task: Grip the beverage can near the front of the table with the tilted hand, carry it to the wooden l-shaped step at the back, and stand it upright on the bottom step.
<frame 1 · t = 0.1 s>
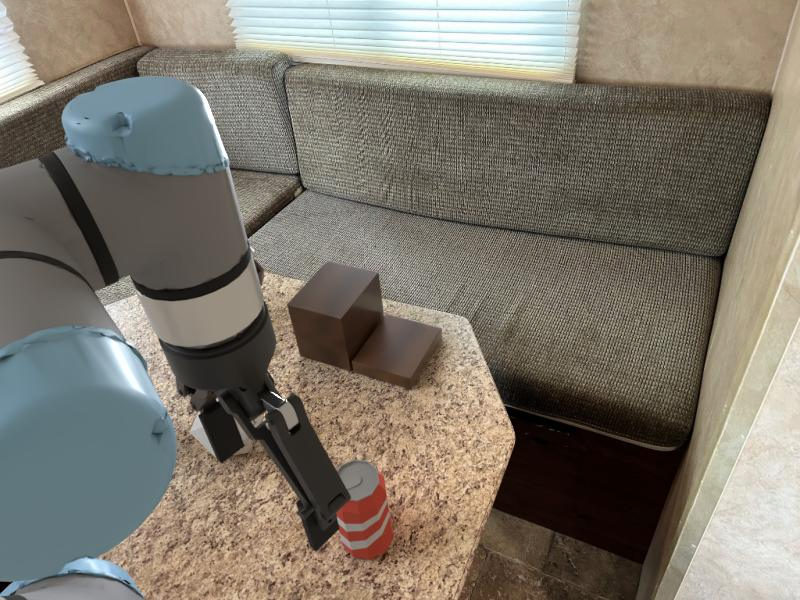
hand: (274, 492, 55), 21 cm above the table, tool pointing down, fingers open, 13 cm apart
wooden l-shaped step: (371, 347, 99), on the table
shot glass: (144, 450, 86), on the table
ice cream bowl: (244, 320, 107), on the table
beverage can: (368, 538, 73), on the table
die: (235, 443, 86), on the table
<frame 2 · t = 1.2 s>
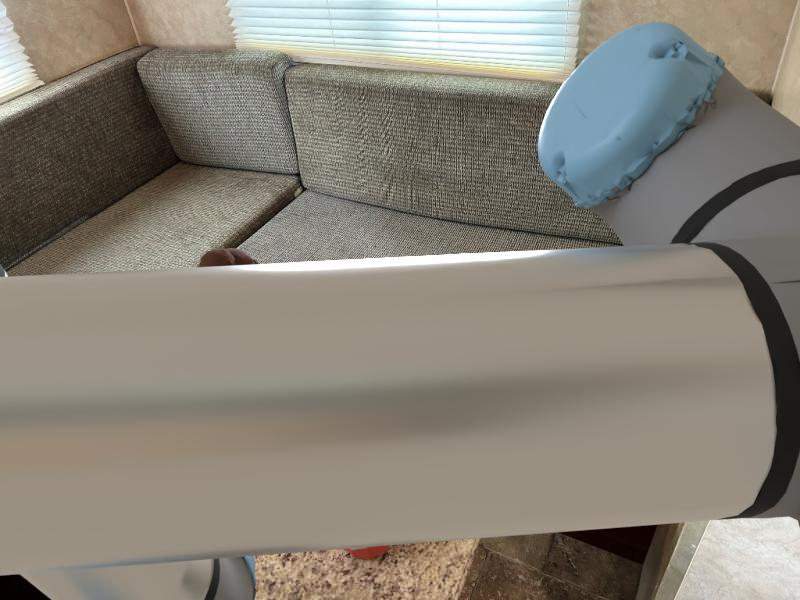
hand: (431, 422, 53), 26 cm above the table, tool tilted 45°, fingers open, 13 cm apart
nothing on the table moved.
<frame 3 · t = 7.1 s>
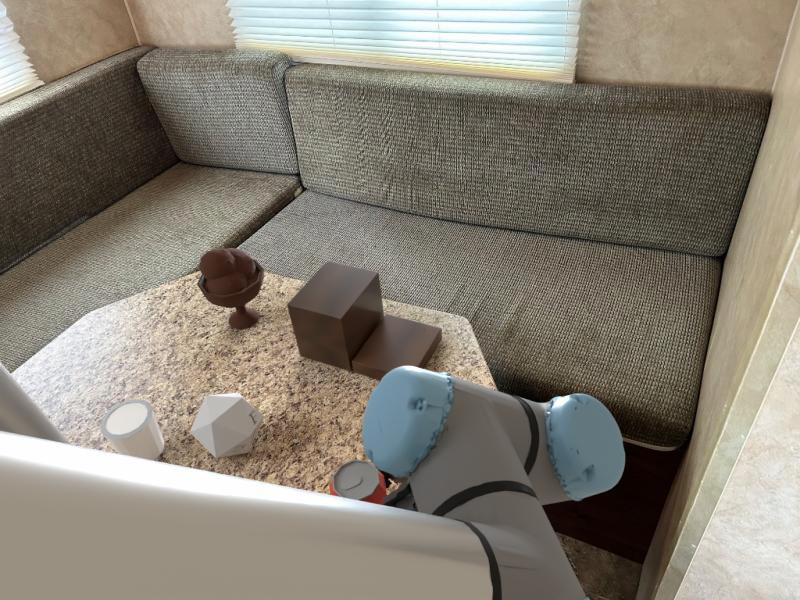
hand: (338, 511, 72), 3 cm above the table, tool tilted 45°, fingers closed on beverage can, 6 cm apart
beverage can: (368, 538, 73), on the table, touching gripper
everything else where it was.
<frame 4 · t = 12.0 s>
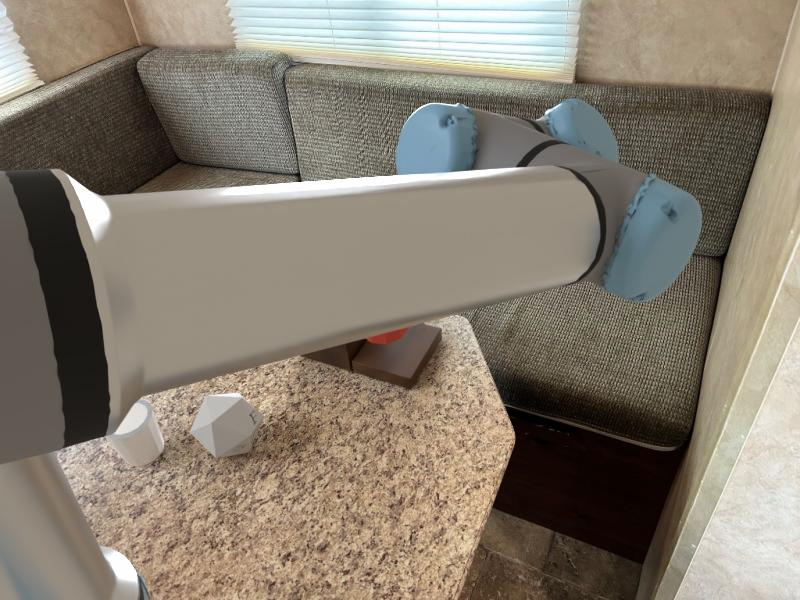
hand: (357, 305, 78), 18 cm above the table, tool tilted 45°, fingers closed on beverage can, 6 cm apart
beverage can: (385, 332, 79), point 15 cm above the table, touching gripper
everything else where it was.
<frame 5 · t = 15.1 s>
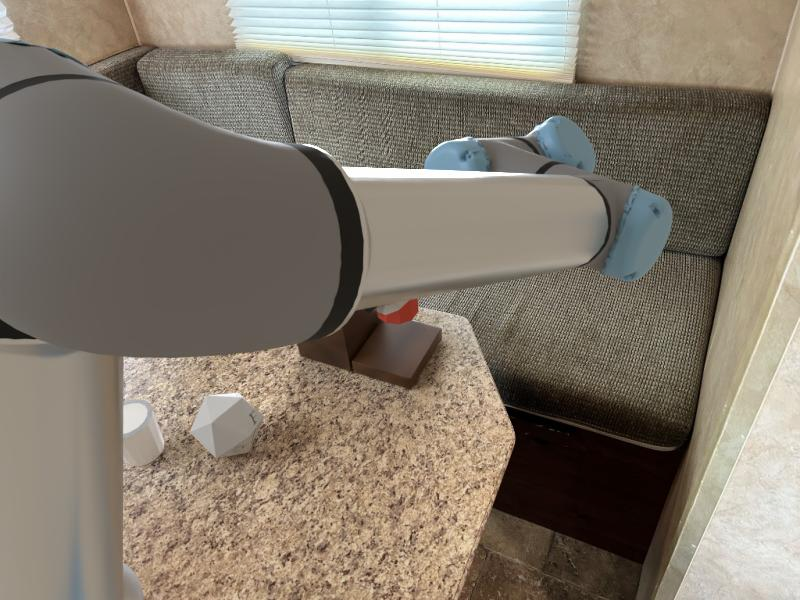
hand: (374, 290, 90), 12 cm above the table, tool tilted 45°, fingers closed on beverage can, 6 cm apart
beverage can: (398, 314, 91), point 9 cm above the table, touching gripper
everything else where it was.
when the fingers open (6 cm above the table, at t = 17.2 s): beverage can stays where it is, resting on wooden l-shaped step.
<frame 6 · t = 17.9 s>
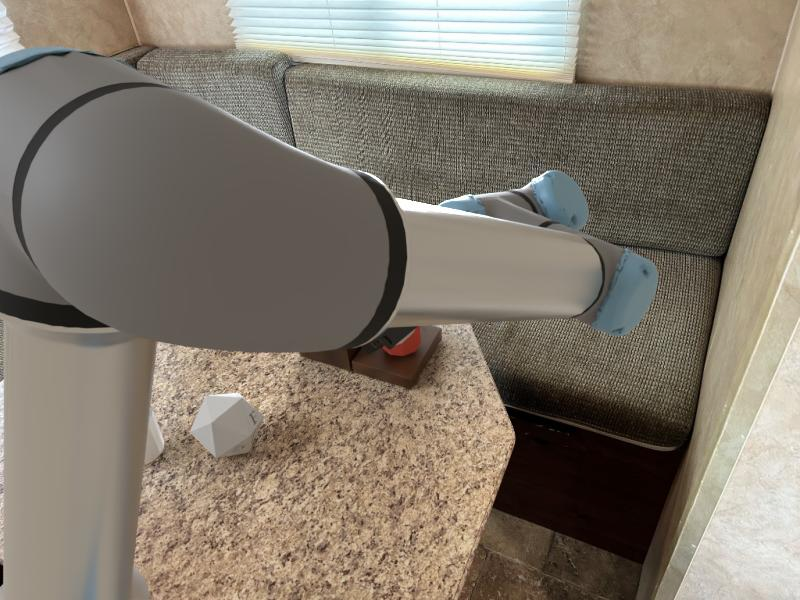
hand: (384, 318, 93), 7 cm above the table, tool tilted 45°, fingers open, 13 cm apart
beverage can: (401, 345, 95), point 2 cm above the table, touching wooden l-shaped step
everything else where it was.
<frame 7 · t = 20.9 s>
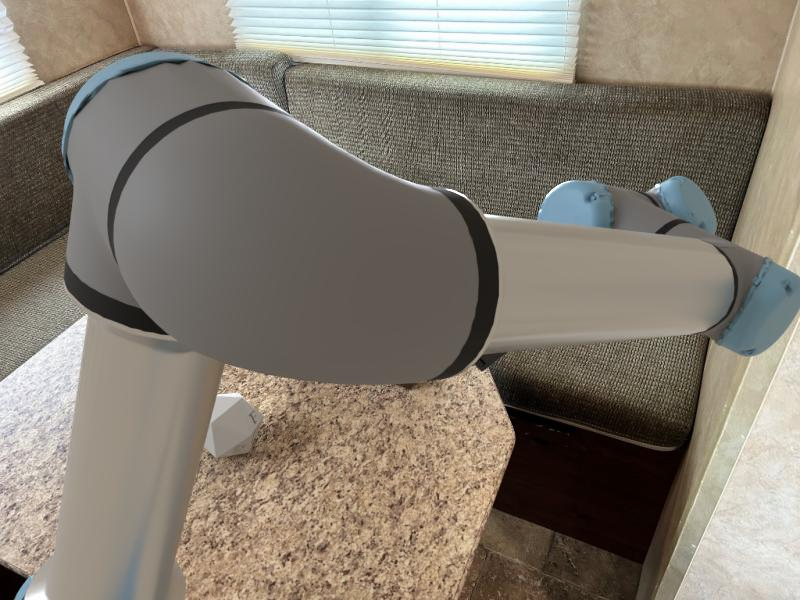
hand: (464, 335, 87), 8 cm above the table, tool tilted 45°, fingers open, 13 cm apart
nothing on the table moved.
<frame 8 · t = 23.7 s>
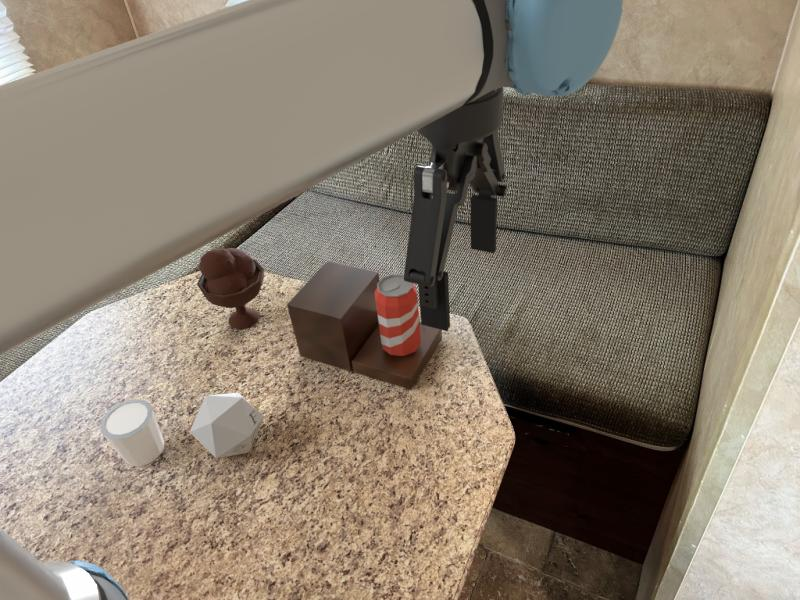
hand: (461, 285, 63), 29 cm above the table, tool pointing down, fingers open, 13 cm apart
nothing on the table moved.
at the end: beverage can inside the target area on the wooden l-shaped step (0.9 cm from its centre), point 2.3 cm above the wooden l-shaped step's base; beverage can tilted 0°; the gripper is holding nothing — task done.
